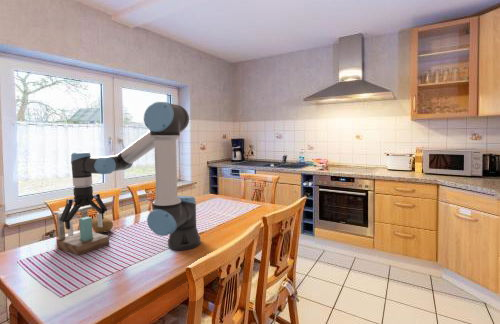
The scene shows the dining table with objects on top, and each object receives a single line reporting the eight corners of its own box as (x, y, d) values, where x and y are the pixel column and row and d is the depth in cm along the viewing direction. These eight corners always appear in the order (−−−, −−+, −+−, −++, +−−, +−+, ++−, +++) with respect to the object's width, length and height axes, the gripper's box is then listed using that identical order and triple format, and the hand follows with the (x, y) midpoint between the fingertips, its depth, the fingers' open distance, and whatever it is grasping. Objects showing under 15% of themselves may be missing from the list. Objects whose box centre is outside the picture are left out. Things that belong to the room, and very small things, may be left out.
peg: (93, 246, 129) (91, 217, 127) (85, 249, 126) (83, 219, 124) (88, 245, 131) (86, 216, 129) (81, 247, 127) (79, 218, 126)
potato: (100, 237, 140) (99, 222, 140) (87, 232, 148) (86, 217, 147) (118, 231, 148) (117, 217, 148) (105, 227, 156) (104, 213, 155)
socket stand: (110, 243, 132) (108, 208, 130) (78, 256, 119) (75, 217, 117) (88, 237, 140) (86, 204, 139) (56, 248, 127) (53, 211, 126)
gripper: (103, 181, 138) (106, 222, 140) (47, 190, 116) (52, 238, 118) (113, 182, 134) (115, 224, 136) (57, 191, 113) (61, 241, 115)
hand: (86, 231), depth 127 cm, fingers open, 13 cm apart
